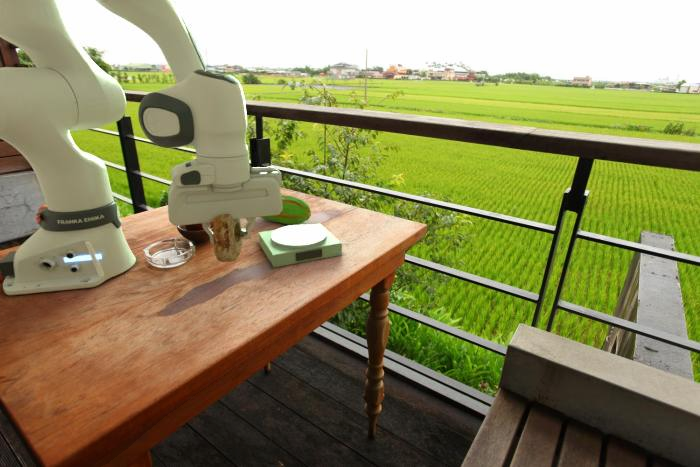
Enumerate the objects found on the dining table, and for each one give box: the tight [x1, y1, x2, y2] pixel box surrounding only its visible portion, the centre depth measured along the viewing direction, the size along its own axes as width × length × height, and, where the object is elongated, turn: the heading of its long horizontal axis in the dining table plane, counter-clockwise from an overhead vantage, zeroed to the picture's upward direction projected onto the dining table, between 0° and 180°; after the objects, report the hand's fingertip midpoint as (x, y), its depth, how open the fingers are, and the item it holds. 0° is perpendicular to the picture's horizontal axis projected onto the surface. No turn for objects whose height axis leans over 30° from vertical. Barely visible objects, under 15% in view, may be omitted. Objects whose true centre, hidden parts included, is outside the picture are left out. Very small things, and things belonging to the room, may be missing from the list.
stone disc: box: [212, 214, 244, 263], centre depth 74 cm, size 10×4×10 cm, turn 0°
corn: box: [260, 194, 312, 226], centre depth 109 cm, size 7×8×20 cm
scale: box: [257, 222, 343, 268], centre depth 91 cm, size 16×14×4 cm
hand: (230, 240), depth 74 cm, fingers closed on stone disc, 4 cm apart
